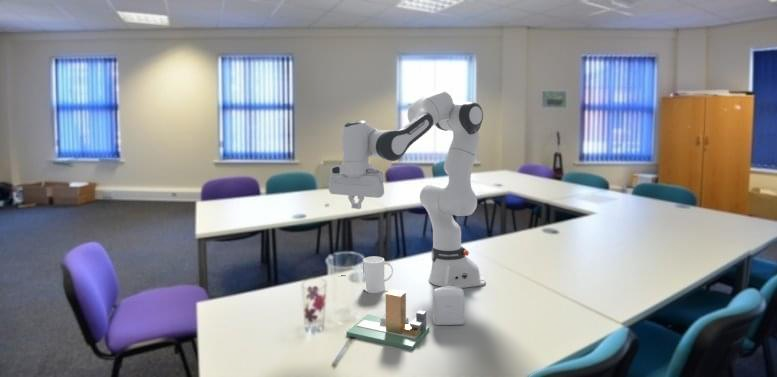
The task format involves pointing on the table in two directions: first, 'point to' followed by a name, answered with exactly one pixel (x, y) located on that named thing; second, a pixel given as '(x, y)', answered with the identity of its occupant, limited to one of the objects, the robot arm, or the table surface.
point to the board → (376, 331)
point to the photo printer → (448, 306)
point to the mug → (375, 274)
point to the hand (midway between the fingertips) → (356, 208)
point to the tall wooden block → (398, 313)
